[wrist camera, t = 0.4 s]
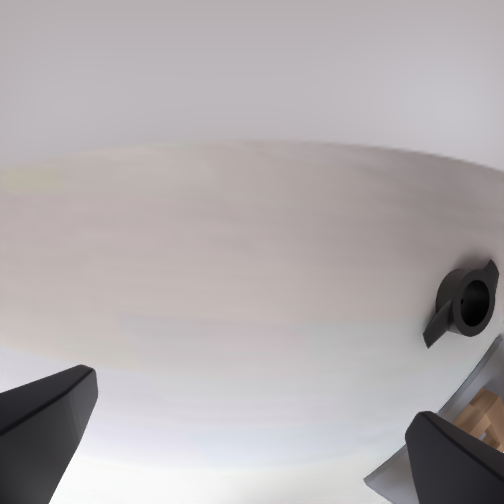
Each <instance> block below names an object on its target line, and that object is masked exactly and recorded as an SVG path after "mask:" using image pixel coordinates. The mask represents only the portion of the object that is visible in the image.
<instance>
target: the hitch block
mask: <svg viewBox="0 0 504 504" xmlns="http://www.w3.org/2000/svg"><path fill="white" fill-rule="evenodd" d="M436 415H438V416H440V417H441V418H443V419H445V420H446V421H448V422H450V423H452V424H453V425H455V426H457V427H458V428H460V429H462V430H463V431H465V432H467V433H469V434H470V435H472V436H474V437H476V438H477V439H479V440H481V441H483V442H484V443H486V444H488V445H490V446H491V447H493V448H495V449H497V450H499V451H500V452H502V453H503V452H504V341H503V339H500V338H496V340H495V341H494V343H493V344H492V346H491V347H490V349H489V350H488V351H487V353H486V354H485V356H484V357H483V358H482V360H481V361H480V363H479V364H478V365H477V367H476V368H475V369H474V371H473V372H472V373H471V374H470V376H469V377H468V378H467V380H466V381H465V382H464V383H463V385H462V386H461V387H460V388H459V389H458V391H457V392H456V393H455V394H454V395H453V396H452V398H451V399H450V400H449V401H448V402H447V403H446V404H445V406H444V407H443V408H442V409H441V410H440V411H439V412H438V413H437V414H436ZM364 482H365V483H366V485H367V486H368V487H370V488H371V489H373V490H374V491H375V492H377V493H378V494H380V495H381V496H383V497H384V498H385V499H387V500H388V501H390V502H391V503H393V504H419V501H418V498H417V494H416V490H415V486H414V483H413V479H412V474H411V468H410V462H409V457H408V451H407V446H406V445H405V446H404V447H403V448H401V449H400V450H399V451H398V452H397V453H396V454H395V455H393V456H392V457H391V458H390V459H389V460H388V461H386V462H385V463H384V464H383V465H382V466H380V467H379V468H378V469H377V470H375V471H374V472H373V473H371V474H370V475H369V476H368V477H366V478H365V479H364Z"/></svg>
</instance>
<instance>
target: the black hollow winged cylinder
mask: <svg viewBox="0 0 504 504" xmlns="http://www.w3.org/2000/svg"><path fill="white" fill-rule="evenodd" d="M498 278H499V272H498V269H497V267H496V265H495V264H494V262H493V261H492V260H490V261H489V263H488V264H487V266H486V267H485V268H484V269H483V271H482V270H454V271H452V272H451V273H449V274H448V275H447V276H446V277H445V278H444V280H443V281H442V283H441V285H440V287H439V289H438V292H437V297H436V315H435V317H434V318H433V319H432V321H431V322H430V324H429V325H428V327H427V328H426V330H425V331H424V333H423V337H424V340H425V343H426V346H427V348H429V347H430V346H431V345H432V344H433V343H434V342H435V341H437V340H438V339H439V338H440V337H441V336H442V335H443V334H444V333H445V332H446V331H451V332H454V333H457V334H461V335H464V336H468V337H472V336H476V335H478V334H479V333H481V332H482V331H483V330H484V329H485V327H486V326H487V325H488V323H489V321H490V319H491V317H492V314H493V311H494V306H495V293H496V288H497V283H498Z"/></svg>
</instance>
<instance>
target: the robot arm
mask: <svg viewBox="0 0 504 504" xmlns="http://www.w3.org/2000/svg"><path fill="white" fill-rule="evenodd" d="M97 398H98V386H97V377H96V371H95V370H94V369H93V368H91V367H88V366H85V365H77V366H75V367H72V368H69V369H67V370H64V371H61V372H59V373H56V374H53V375H51V376H48V377H45V378H42V379H40V380H37V381H34V382H31V383H28V384H25V385H23V386H20V387H17V388H14V389H11V390H8V391H5V392H2V393H0V504H49V502H50V500H51V498H52V496H53V494H54V492H55V490H56V488H57V486H58V484H59V482H60V480H61V478H62V476H63V474H64V472H65V470H66V468H67V466H68V464H69V462H70V461H71V459H72V457H73V455H74V453H75V451H76V449H77V447H78V445H79V443H80V441H81V439H82V436H83V434H84V431H85V429H86V426H87V423H88V421H89V418H90V416H91V413H92V411H93V408H94V406H95V404H96V401H97ZM405 441H406V446H407V451H408V457H409V462H410V468H411V474H412V479H413V483H414V486H415V490H416V494H417V498H418V501H419V504H504V453H502V452H500V451H499V450H497V449H495V448H493V447H491V446H490V445H488V444H486V443H484V442H483V441H481V440H479V439H477V438H476V437H474V436H472V435H470V434H469V433H467V432H465V431H463V430H462V429H460V428H458V427H457V426H455V425H453V424H452V423H450V422H448V421H446V420H445V419H443V418H441V417H440V416H438V415H436V414H435V413H433V412H431V411H422V412H419V413H418V414H417V415H416V416H415V418H414V419H413V421H412V423H411V424H410V426H409V427H408V429H407V431H406V433H405Z"/></svg>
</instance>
